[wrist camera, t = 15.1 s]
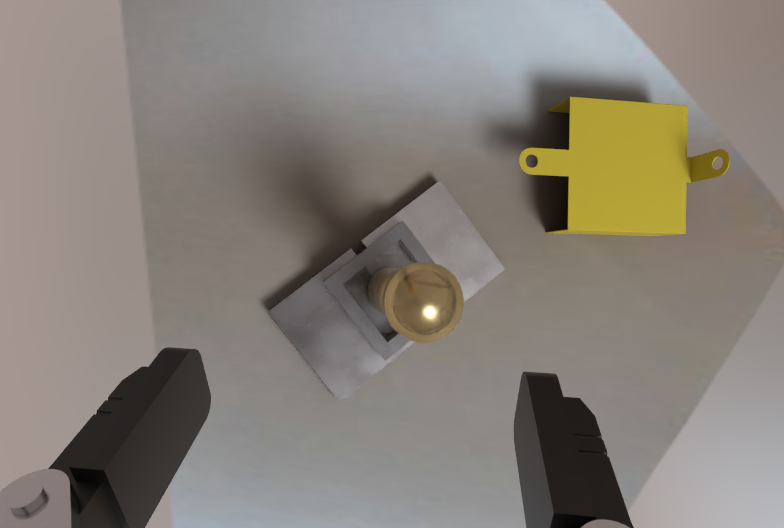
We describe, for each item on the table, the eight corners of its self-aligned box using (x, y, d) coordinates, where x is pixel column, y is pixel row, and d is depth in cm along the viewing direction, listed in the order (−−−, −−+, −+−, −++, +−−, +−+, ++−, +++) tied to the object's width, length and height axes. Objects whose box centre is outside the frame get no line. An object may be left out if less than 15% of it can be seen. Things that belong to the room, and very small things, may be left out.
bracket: (542, 38, 34) (731, 56, 36) (500, 79, 41) (658, 92, 44) (539, 260, 34) (728, 264, 36) (497, 261, 41) (655, 264, 44)
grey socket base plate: (268, 310, 38) (265, 314, 35) (436, 182, 40) (445, 177, 38) (339, 399, 39) (341, 408, 36) (500, 268, 41) (512, 269, 38)
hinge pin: (351, 285, 38) (368, 295, 26) (395, 251, 38) (432, 245, 27) (385, 329, 38) (417, 359, 26) (428, 295, 39) (479, 308, 27)
